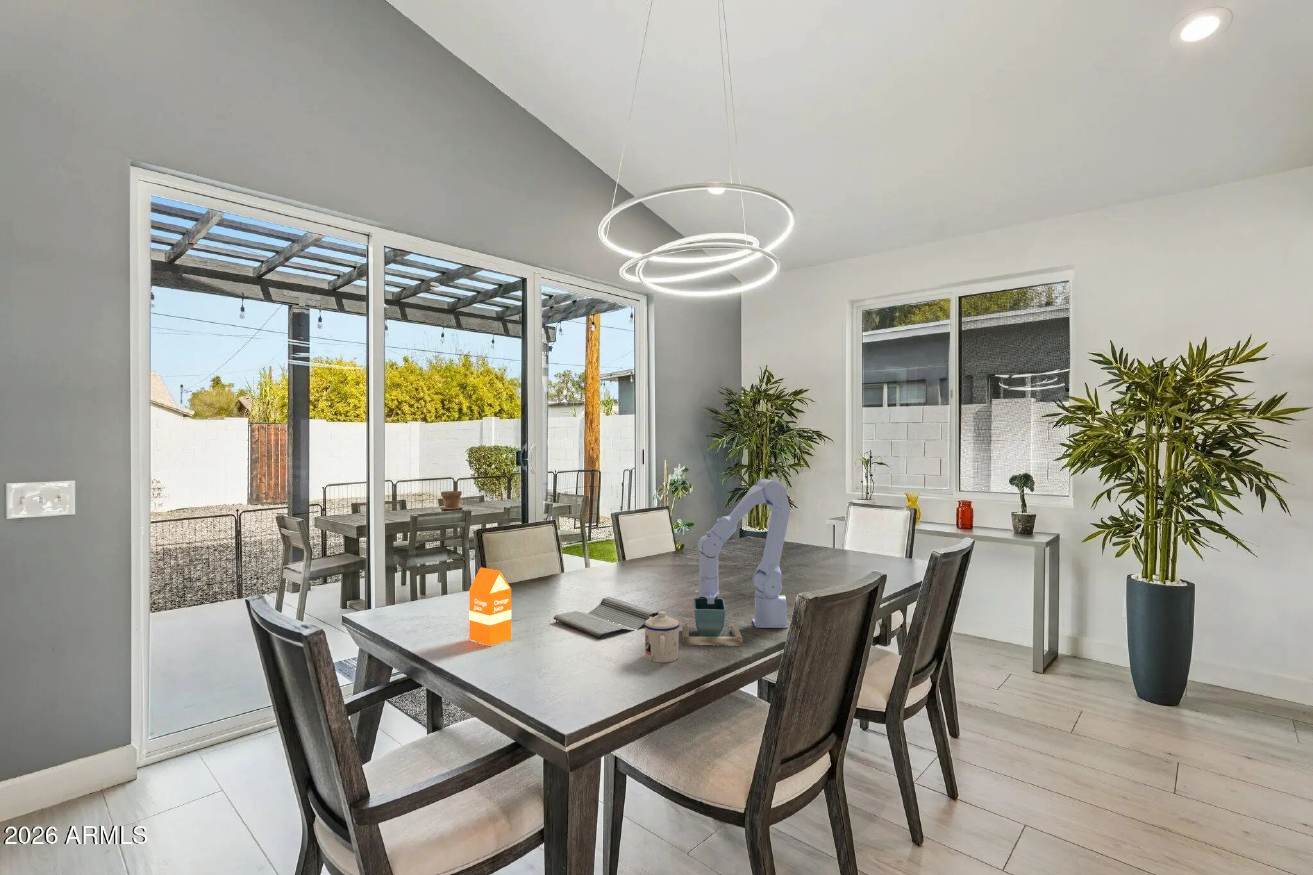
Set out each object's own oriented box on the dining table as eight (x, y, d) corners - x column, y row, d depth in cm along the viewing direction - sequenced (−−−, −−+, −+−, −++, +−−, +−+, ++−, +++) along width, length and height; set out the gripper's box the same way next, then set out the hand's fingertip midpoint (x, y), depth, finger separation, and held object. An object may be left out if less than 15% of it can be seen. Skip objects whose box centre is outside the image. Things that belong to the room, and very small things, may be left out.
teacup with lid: (644, 651, 165) (644, 607, 165) (678, 651, 165) (678, 607, 165) (643, 667, 153) (643, 620, 153) (680, 667, 153) (680, 620, 153)
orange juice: (491, 634, 179) (491, 565, 179) (511, 639, 174) (511, 568, 174) (468, 641, 172) (468, 569, 173) (489, 647, 167) (489, 573, 167)
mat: (552, 624, 190) (552, 609, 190) (611, 610, 206) (611, 595, 206) (599, 642, 173) (599, 625, 173) (660, 625, 190) (660, 609, 190)
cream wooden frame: (736, 630, 183) (736, 623, 183) (742, 645, 169) (742, 638, 169) (682, 630, 183) (682, 623, 183) (683, 645, 169) (683, 638, 169)
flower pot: (723, 626, 183) (723, 597, 182) (725, 640, 174) (726, 609, 173) (693, 626, 183) (693, 597, 182) (694, 640, 174) (694, 609, 173)
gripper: (693, 571, 192) (693, 614, 192) (697, 582, 177) (697, 629, 177) (716, 571, 192) (716, 615, 192) (721, 582, 177) (721, 629, 177)
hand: (708, 621), depth 185 cm, fingers closed
